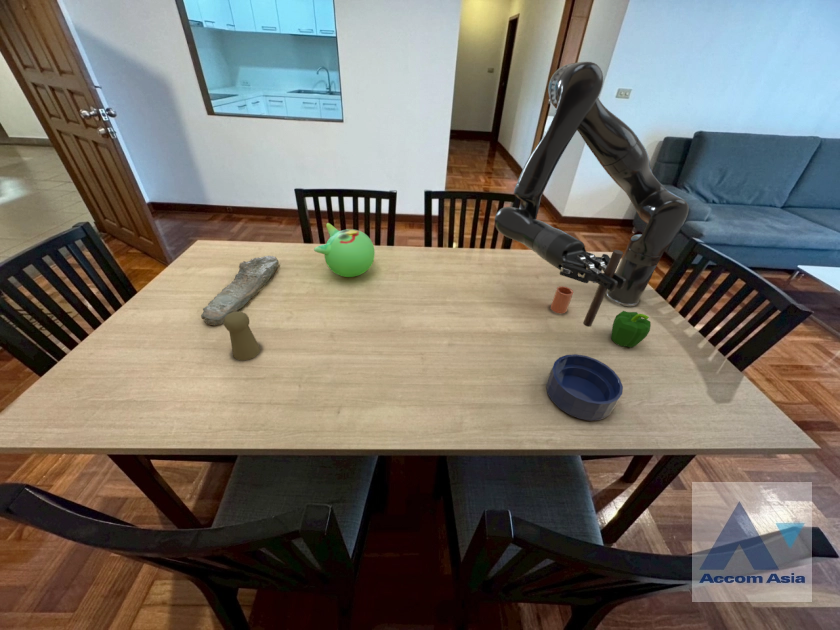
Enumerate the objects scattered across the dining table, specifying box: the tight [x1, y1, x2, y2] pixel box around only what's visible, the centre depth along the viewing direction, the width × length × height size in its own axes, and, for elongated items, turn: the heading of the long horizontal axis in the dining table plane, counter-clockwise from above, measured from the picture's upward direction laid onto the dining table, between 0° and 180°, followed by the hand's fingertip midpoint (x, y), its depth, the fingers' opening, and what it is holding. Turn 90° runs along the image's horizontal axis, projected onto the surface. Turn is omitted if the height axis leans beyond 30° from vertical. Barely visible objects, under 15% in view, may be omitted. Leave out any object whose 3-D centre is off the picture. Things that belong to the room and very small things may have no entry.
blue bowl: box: [545, 353, 624, 422], centre depth 78 cm, size 14×14×6 cm
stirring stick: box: [582, 249, 624, 328], centre depth 74 cm, size 2×2×18 cm
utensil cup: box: [550, 285, 574, 314], centre depth 104 cm, size 5×5×7 cm
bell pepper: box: [610, 310, 652, 348], centre depth 92 cm, size 8×8×10 cm
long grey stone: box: [200, 255, 280, 326], centre depth 105 cm, size 35×5×10 cm
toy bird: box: [313, 222, 376, 278], centre depth 113 cm, size 18×17×15 cm
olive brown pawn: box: [223, 310, 261, 361], centre depth 82 cm, size 6×6×11 cm
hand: (619, 285), depth 70 cm, fingers closed on stirring stick, 2 cm apart
